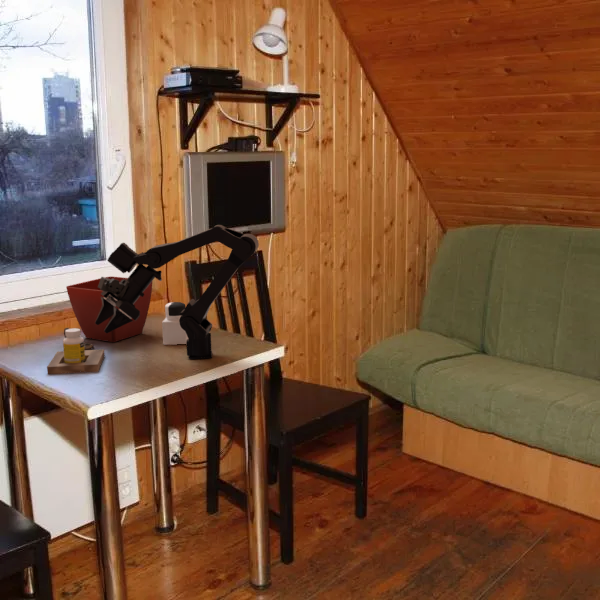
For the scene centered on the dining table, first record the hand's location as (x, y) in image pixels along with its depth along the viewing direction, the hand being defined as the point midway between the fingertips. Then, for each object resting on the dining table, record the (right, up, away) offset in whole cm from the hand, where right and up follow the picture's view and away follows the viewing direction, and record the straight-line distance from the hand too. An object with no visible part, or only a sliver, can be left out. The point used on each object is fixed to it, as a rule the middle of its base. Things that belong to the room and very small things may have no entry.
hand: (100, 328), depth 212 cm
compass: (-10, -7, +16) cm, 20 cm away
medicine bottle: (+18, -5, +22) cm, 29 cm away
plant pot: (-4, -4, +30) cm, 31 cm away
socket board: (-6, -10, 0) cm, 12 cm away
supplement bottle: (-6, -10, -2) cm, 12 cm away
